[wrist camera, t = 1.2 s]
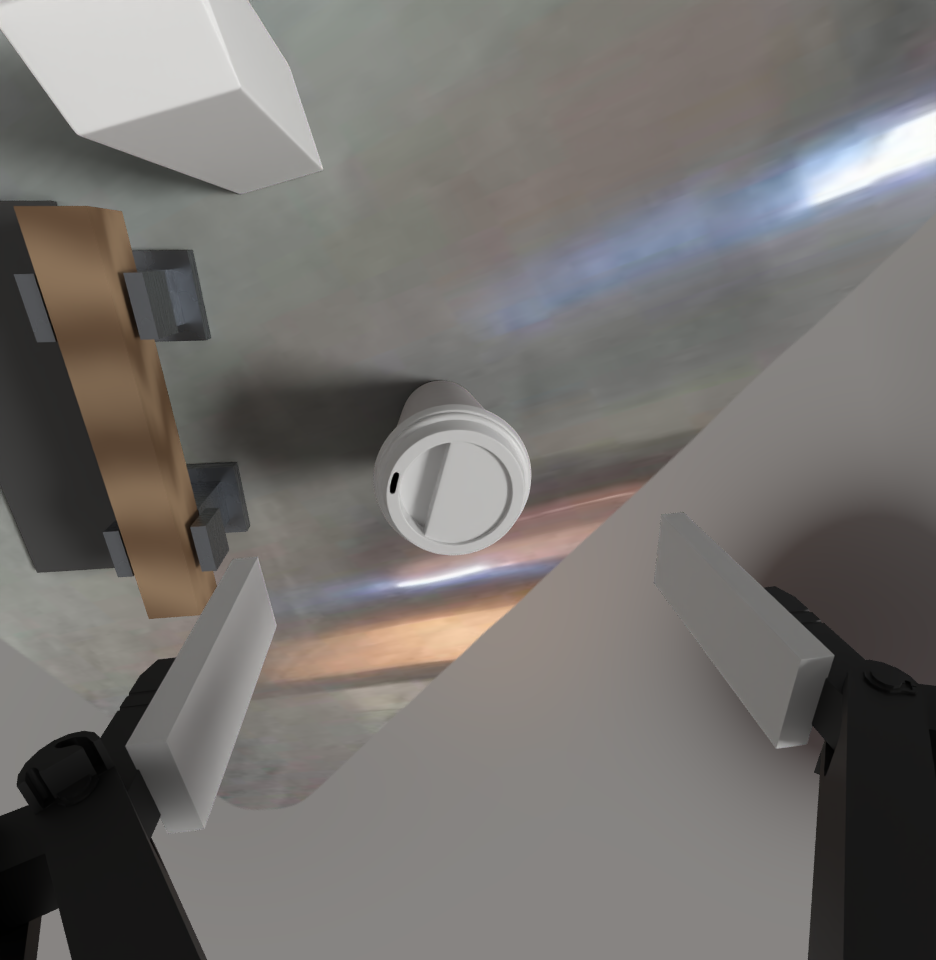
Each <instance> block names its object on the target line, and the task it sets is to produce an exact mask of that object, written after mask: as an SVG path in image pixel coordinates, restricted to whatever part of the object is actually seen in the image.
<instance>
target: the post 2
mask: <svg viewBox="0 0 936 960" xmlns="http://www.w3.org/2000/svg"><path fill="white" fill-rule="evenodd" d="M186 467H187V470H188V474H189V478H190V482H191V486H192V490H193V494H194V498H195V502H196V506H197V510H198V514H199V517H198V518H197V519H196V520H195V522H194V523H193V524H192V525H191V527H190V529H191V532H192V536H193V540H194V544H195V548H196V551H197V555H198V559H199V563H200V567H201V570H202V572H204V571H217V569H218V567H219V566H220V564H221V563H222V561H223V559H224V558H225V556H226V554H227V553H228V551H229V547H228V543H227V538H226V534H225V533H229V532H246V531H248V529H249V527H250V522H249V517H248V512H247V507H246V503H245V498H244V493H243V488H242V484H241V479H240V474H239V469H238V464H237V462H231V463H210V464H188V465H186ZM103 535H104V538H105V541H106V544H107V546H108V549H109V552H110V555H111V558H112V561H113V564H114V567H115V570H116V572H117V575H118V577H128V576H134V572H133V569H132V566H131V563H130V560H129V557H128V554H127V550H126V547H125V544H124V541H123V538H122V535H121V532H120V529H119V526H118V523H117V520H115V521H114V522H113V523H112V524H111V525H110V526H109V527H108V528H107V529H105V530H104V531H103Z"/></svg>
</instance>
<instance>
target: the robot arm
mask: <svg viewBox="0 0 936 960" xmlns="http://www.w3.org/2000/svg"><path fill="white" fill-rule="evenodd" d="M654 584H655V585H656V587H657V588H658V589H659V590H660V592H661V593H662V595H663V596H664V597H665V599H666V600H667V601H668V603H669V604H670V606H671V607H672V608H673V610H674V611H675V612H676V613H677V615H678V616H679V618H680V619H681V620H682V622H683V623H684V624H685V626H686V627H687V629H688V630H689V631H690V633H691V634H692V635H693V637H694V638H695V639H696V641H697V642H698V643H699V645H700V646H701V647H702V649H703V650H704V652H705V653H706V654H707V656H708V657H709V658H710V660H711V661H712V662H713V663H714V665H715V666H716V668H717V669H718V671H719V672H720V673H721V675H722V676H723V677H724V679H725V680H726V681H727V683H728V684H729V685H730V687H731V688H732V689H733V691H734V692H735V694H736V695H737V696H738V698H739V699H740V700H741V702H742V703H743V704H744V706H745V707H746V708H747V710H748V711H749V712H750V714H751V715H752V717H753V718H754V719H755V721H756V722H757V723H758V725H759V726H760V727H761V729H762V730H763V731H764V733H765V734H766V736H767V737H768V738H769V740H770V741H771V742H772V744H773V745H774V746H775V748H784V747H790V746H798V745H805V744H807V742H808V739H809V736H810V732H811V729H812V726H814V728H815V729H816V730H817V731H818V732H819V733H820V735H821V736H822V737H823V738H824V739H825V741H824V744H823V747H822V750H821V753H820V756H819V759H818V762H817V765H816V768H815V771H814V773H817V774H819V775H820V780H819V796H818V811H817V827H816V842H815V857H814V873H813V889H812V904H811V920H810V935H809V936H810V937H809V952H808V960H936V686H932V685H923V684H918V683H917V682H916V681H915V680H913V679H912V677H910V676H909V675H908V674H906V673H904V672H902V671H901V670H899V669H898V668H896V667H893V666H890V665H888V664H885V663H882V662H878V661H873V660H865V659H864V658H863V657H861V656H860V655H859V654H858V653H857V652H856V651H855V650H854V649H853V648H851V647H850V646H849V645H848V644H847V643H846V642H845V641H844V640H842V639H841V638H840V637H839V636H838V635H837V634H836V633H835V632H834V631H832V630H831V629H830V628H829V627H828V626H827V625H826V624H825V623H821V620H820V619H819V618H818V617H817V616H816V615H815V614H813V613H812V612H809V609H808V608H807V607H806V606H804V605H803V604H802V603H801V602H800V601H799V600H798V599H797V598H796V597H794V596H792V595H790V594H789V593H786V592H785V591H783V590H781V589H779V588H777V587H775V586H774V587H766V588H763V587H762V586H761V585H760V584H759V583H758V582H757V581H756V580H755V579H754V578H753V577H752V576H750V575H749V574H748V573H747V572H746V571H745V570H744V569H743V568H742V567H741V566H740V565H739V564H738V563H737V562H736V561H735V560H734V559H733V558H731V557H730V556H729V555H728V554H727V553H726V552H725V551H724V550H723V549H722V548H721V547H720V546H719V545H718V544H717V543H716V542H715V541H714V540H712V539H711V538H710V537H709V536H708V535H707V534H706V533H705V532H704V531H703V530H702V529H701V528H700V527H699V526H698V525H697V524H696V523H695V522H694V521H692V520H691V519H690V518H689V517H688V516H687V515H686V514H685V513H684V512H680V513H671V514H662V515H661V523H660V532H659V542H658V550H657V559H656V568H655V577H654ZM276 626H277V625H276V622H275V618H274V614H273V611H272V607H271V603H270V599H269V596H268V592H267V588H266V585H265V581H264V577H263V574H262V570H261V566H260V563H259V559H258V557H249V558H240V559H233V560H232V562H231V563H230V565H229V567H228V569H227V570H226V572H225V574H224V576H223V577H222V579H221V581H220V582H219V584H218V586H217V588H216V589H215V591H214V593H213V595H212V596H211V598H210V600H209V602H208V603H207V605H206V607H205V608H204V610H203V612H202V614H201V615H200V617H199V619H198V621H197V622H196V624H195V626H194V628H193V629H192V631H191V633H190V634H189V636H188V638H187V640H186V641H185V643H184V645H183V647H182V648H181V650H180V652H179V654H178V655H177V657H176V658H168V659H159V660H157V661H156V662H155V663H154V664H152V665H151V666H150V667H149V668H148V669H147V670H146V671H145V672H144V673H142V674H141V675H140V676H139V678H138V680H137V681H136V683H135V684H134V686H133V687H132V689H131V691H130V692H129V696H127V697H126V698H125V700H124V702H123V703H122V705H121V706H120V711H117V713H116V714H115V716H114V717H113V719H112V720H111V722H110V724H109V725H108V727H107V728H106V730H105V731H104V733H103V735H102V736H101V738H100V737H99V736H98V735H97V734H96V733H94V732H88V731H81V732H76V733H71V734H68V735H65V736H63V737H61V738H59V739H57V740H54V741H52V742H51V743H49V744H48V745H46V746H45V747H43V748H42V749H40V750H39V751H38V752H37V753H36V754H35V755H34V756H32V758H30V760H28V761H27V762H26V763H25V765H24V767H23V768H22V770H21V771H20V773H19V774H18V779H17V787H18V789H19V790H20V792H21V793H22V795H23V797H24V798H25V799H26V801H27V803H28V804H29V805H28V806H25V807H22V808H20V809H17V810H15V811H12V812H9V813H7V814H4V815H2V816H0V960H36V958H37V951H38V942H39V934H40V925H41V917H42V915H45V914H47V913H49V912H51V911H53V910H56V909H58V908H59V911H60V915H61V919H62V923H63V927H64V931H65V934H66V938H67V942H68V946H69V950H70V954H71V958H72V960H207V959H206V956H205V954H204V952H203V950H202V948H201V945H200V943H199V941H198V939H197V936H196V934H195V932H194V930H193V928H192V925H191V923H190V921H189V919H188V917H187V915H186V912H185V910H184V908H183V906H182V903H181V901H180V899H179V897H178V895H177V892H176V890H175V888H174V886H173V884H172V881H171V879H170V877H169V875H168V872H167V870H166V868H165V866H164V864H163V862H162V859H161V857H160V855H159V853H158V851H157V848H156V846H155V844H154V842H153V840H152V838H151V836H152V834H153V832H154V830H155V827H156V825H157V823H158V821H159V818H161V821H162V823H163V825H164V827H165V829H166V831H167V833H168V834H171V833H179V832H186V831H193V830H200V829H204V828H205V826H206V823H207V820H208V817H209V814H210V812H211V808H212V806H213V803H214V800H215V798H216V795H217V792H218V789H219V786H220V784H221V781H222V778H223V775H224V772H225V770H226V767H227V764H228V761H229V758H230V756H231V753H232V750H233V747H234V744H235V742H236V739H237V736H238V733H239V730H240V727H241V725H242V722H243V719H244V716H245V713H246V711H247V708H248V705H249V702H250V699H251V697H252V694H253V691H254V688H255V685H256V683H257V680H258V677H259V674H260V671H261V669H262V666H263V663H264V660H265V657H266V655H267V652H268V649H269V646H270V643H271V640H272V638H273V635H274V632H275V629H276Z"/></svg>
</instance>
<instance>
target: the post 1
mask: <svg viewBox="0 0 936 960" xmlns="http://www.w3.org/2000/svg"><path fill="white" fill-rule="evenodd" d="M132 253H133V257H134V261H135V265H136V269H137V272H128V273H123V275H124V278H125V282H126V286H127V290H128V294H129V297H130V301H131V305H132V309H133V313H134V316H135V320H136V324H137V328H138V331H139V335H140V339H141V340H151V339H154V340H155V342H157V341H196V340H208V339H210V338H211V335H210V330H209V326H208V321H207V316H206V311H205V306H204V302H203V297H202V292H201V287H200V282H199V278H198V273H197V268H196V263H195V258H194V254H193V250H150V251H132ZM14 277H15V280H16V283H17V285H18V288H19V291H20V294H21V297H22V300H23V303H24V306H25V309H26V312H27V314H28V317H29V320H30V323H31V326H32V329H33V332H34V335H35V338H36V341H37V342H57V341H58V340H57V337H56V334H55V331H54V328H53V325H52V322H51V319H50V316H49V313H48V310H47V307H46V304H45V301H44V298H43V295H42V292H41V289H40V286H39V283H38V280H37V277H36V273H30V274H14Z"/></svg>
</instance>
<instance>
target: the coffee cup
mask: <svg viewBox="0 0 936 960" xmlns="http://www.w3.org/2000/svg"><path fill="white" fill-rule="evenodd" d="M373 485H374V492H375V496H376V500H377V503H378V505H379V507H380V509H381V511H382V513H383V515H384V517H385V518H386V520H387V521H388V523H389V524H390V525H391V526H392V528H393V529H394V530H395V531H396V532H397V533H399V534H400V535H401V536H402V537H403V538H405V539H406V540H408V541H409V542H411V543H413V544H414V545H416V546H418V547H420V548H422V549H424V550H427V551H429V552H433V553H437V554H442V555H463V554H469V553H473V552H476V551H479V550H482V549H484V548H486V547H488V546H490V545H492V544H493V543H495V542H496V541H498V540H499V539H500V538H501V537H503V536H504V535H505V534H506V533H507V532H508V531H509V529H510V528H511V527H512V526H513V524H514V523H515V522H516V520H517V519H518V517H519V516H520V514H521V512H522V511H523V508H524V506H525V504H526V502H527V499H528V495H529V491H530V485H531V465H530V460H529V456H528V453H527V450H526V448H525V445H524V443H523V442H522V440H521V438H520V437H519V435H518V434H517V433H516V431H515V430H514V429H513V428H512V427H511V426H510V425H509V424H508V423H507V422H505V421H504V420H503V419H501V418H500V417H498V416H497V415H495V414H493V413H491V412H489V411H487V410H485V409H484V408H483V407H482V406H481V405H480V404H479V403H478V401H477V400H476V399H475V398H474V397H473V396H472V395H471V394H470V393H469V392H468V391H467V390H466V389H465V388H464V387H462V386H460V385H458V384H456V383H453V382H450V381H432V382H429V383H426V384H424V385H422V386H420V387H419V388H417V389H416V390H415V391H414V392H413V393H412V394H411V395H410V396H409V397H408V399H407V401H406V403H405V405H404V407H403V410H402V413H401V416H400V419H399V421H398V424H397V427H396V428H395V429H394V430H393V431H392V432H391V434H390V435H389V436H388V437H387V439H386V440H385V442H384V443H383V445H382V447H381V449H380V451H379V453H378V456H377V459H376V462H375V466H374V474H373Z"/></svg>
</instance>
